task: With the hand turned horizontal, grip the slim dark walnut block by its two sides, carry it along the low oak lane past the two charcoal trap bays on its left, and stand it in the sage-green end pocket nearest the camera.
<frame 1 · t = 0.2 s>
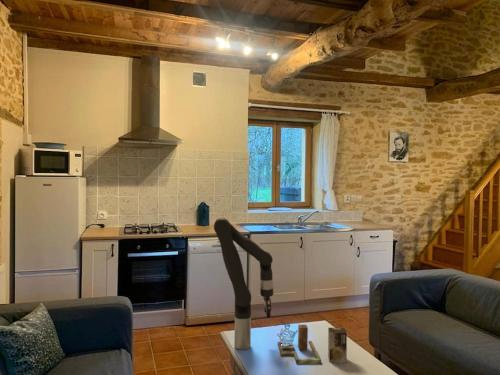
hand: (267, 315, 211), 18 cm above the table, tool pointing down, fingers open, 8 cm apart
trap lane: (304, 352, 204), on the table
walnut block: (302, 349, 208), resting in trap lane
coffee box: (337, 360, 196), on the table
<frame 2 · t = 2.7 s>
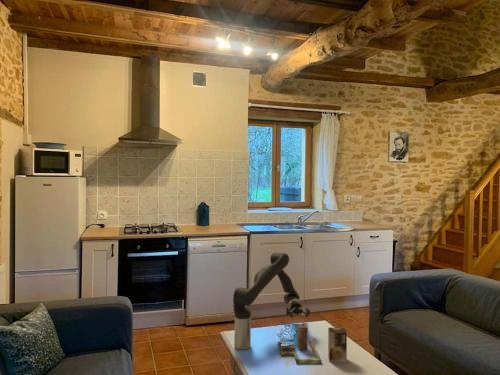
hand: (299, 316, 220), 14 cm above the table, tool horizontal, fingers open, 8 cm apart
nothing on the table moved.
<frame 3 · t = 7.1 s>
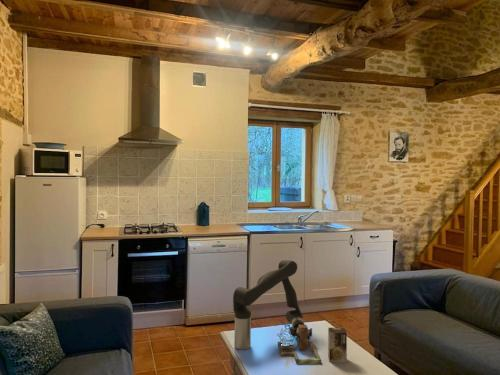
hand: (303, 337, 205), 8 cm above the table, tool horizontal, fingers closed on walnut block, 4 cm apart
walnut block: (302, 348, 208), resting in trap lane, touching gripper
everything else where it was.
when the fingers open (8 cm above the table, at t = 11.8 s): walnut block stays where it is, resting in trap lane.
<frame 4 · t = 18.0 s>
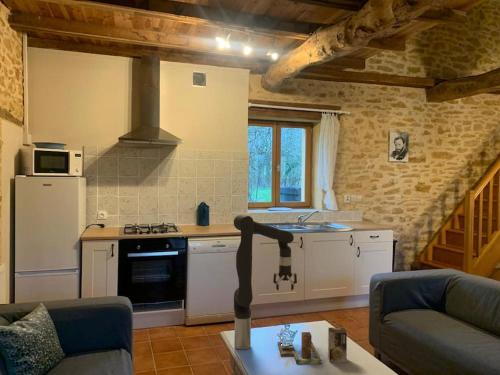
hand: (284, 290, 225), 28 cm above the table, tool pointing down, fingers open, 8 cm apart
walnut block: (306, 357, 197), resting in trap lane
everything else where it was.
at the end: walnut block inside the target area (0.5 cm from its centre), resting in trap lane; walnut block tilted 0°; the gripper is holding nothing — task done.
